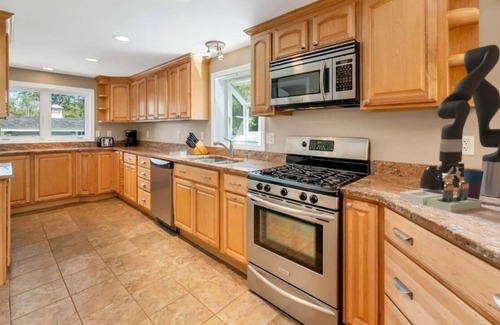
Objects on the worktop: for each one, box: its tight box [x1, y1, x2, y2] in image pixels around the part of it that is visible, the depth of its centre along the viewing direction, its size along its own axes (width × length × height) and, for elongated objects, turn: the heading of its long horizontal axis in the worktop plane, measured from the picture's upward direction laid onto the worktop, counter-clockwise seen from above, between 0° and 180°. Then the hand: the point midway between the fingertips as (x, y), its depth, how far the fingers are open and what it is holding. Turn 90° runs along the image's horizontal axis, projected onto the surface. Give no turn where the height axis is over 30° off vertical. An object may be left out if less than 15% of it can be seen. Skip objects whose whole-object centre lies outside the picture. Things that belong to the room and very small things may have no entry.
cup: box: [463, 168, 484, 200], centre depth 120 cm, size 7×7×15 cm
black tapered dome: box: [418, 165, 443, 192], centre depth 137 cm, size 10×10×15 cm
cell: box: [442, 182, 454, 203], centre depth 111 cm, size 4×4×11 cm
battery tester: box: [399, 189, 443, 205], centre depth 125 cm, size 18×12×4 cm, turn 108°
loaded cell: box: [456, 180, 469, 202], centre depth 114 cm, size 4×4×11 cm
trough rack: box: [426, 194, 483, 213], centre depth 113 cm, size 18×10×4 cm, turn 108°
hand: (448, 188), depth 111 cm, fingers open, 8 cm apart
